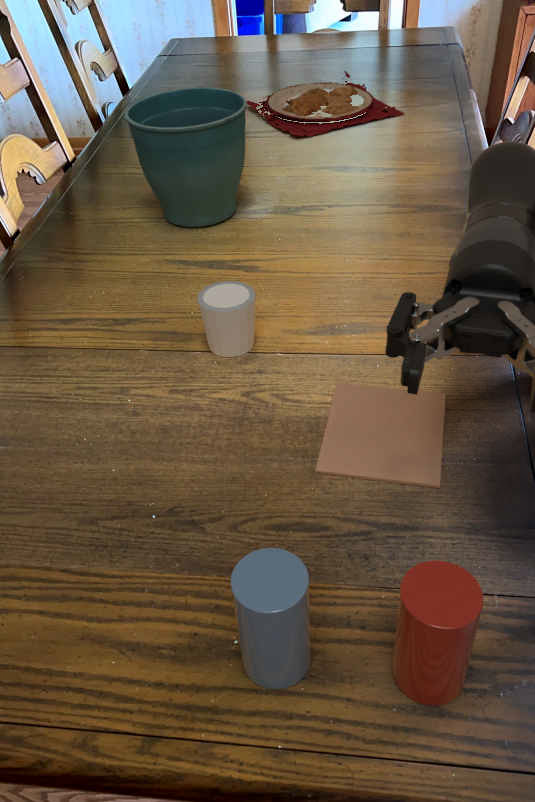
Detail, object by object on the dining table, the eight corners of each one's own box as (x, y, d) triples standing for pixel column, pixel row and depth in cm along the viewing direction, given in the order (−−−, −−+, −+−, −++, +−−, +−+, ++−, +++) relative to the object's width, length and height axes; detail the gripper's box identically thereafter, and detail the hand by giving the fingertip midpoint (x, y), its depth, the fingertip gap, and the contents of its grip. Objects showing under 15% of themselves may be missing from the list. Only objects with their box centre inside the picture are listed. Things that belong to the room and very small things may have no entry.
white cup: (231, 367, 84) (226, 317, 80) (192, 346, 88) (184, 297, 84) (270, 341, 88) (267, 291, 84) (231, 321, 92) (226, 274, 87)
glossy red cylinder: (465, 645, 55) (483, 566, 49) (464, 712, 51) (483, 635, 45) (395, 634, 56) (403, 554, 50) (388, 698, 52) (396, 621, 46)
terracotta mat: (445, 395, 78) (446, 392, 78) (439, 488, 68) (440, 485, 68) (336, 385, 81) (336, 382, 81) (315, 473, 70) (315, 470, 70)
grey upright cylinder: (317, 632, 57) (315, 553, 51) (304, 695, 53) (300, 618, 47) (251, 620, 58) (241, 542, 52) (234, 682, 54) (221, 605, 48)
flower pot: (148, 246, 109) (128, 134, 98) (140, 198, 123) (121, 95, 112) (264, 228, 111) (256, 117, 100) (243, 183, 125) (235, 81, 114)
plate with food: (243, 109, 156) (242, 93, 154) (345, 84, 164) (344, 68, 161) (294, 143, 140) (294, 126, 137) (404, 114, 147) (405, 96, 145)
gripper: (570, 324, 62) (569, 450, 51) (406, 304, 66) (371, 417, 55) (591, 246, 57) (595, 366, 46) (412, 230, 61) (375, 336, 50)
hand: (473, 394), depth 50 cm, fingers open, 8 cm apart
